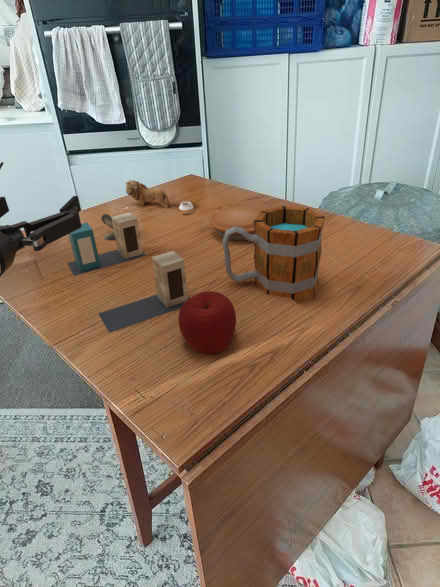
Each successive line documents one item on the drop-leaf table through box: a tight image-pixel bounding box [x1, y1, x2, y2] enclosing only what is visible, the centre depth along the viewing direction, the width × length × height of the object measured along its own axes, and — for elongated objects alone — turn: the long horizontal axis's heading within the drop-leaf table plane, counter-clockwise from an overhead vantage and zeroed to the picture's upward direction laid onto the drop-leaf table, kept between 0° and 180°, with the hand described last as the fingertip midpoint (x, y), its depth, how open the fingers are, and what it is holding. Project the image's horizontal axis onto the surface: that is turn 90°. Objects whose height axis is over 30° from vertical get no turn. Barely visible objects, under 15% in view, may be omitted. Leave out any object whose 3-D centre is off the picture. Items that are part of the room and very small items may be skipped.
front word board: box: [97, 294, 190, 334], centre depth 82 cm, size 7×17×2 cm, turn 119°
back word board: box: [66, 249, 147, 277], centre depth 100 cm, size 7×17×2 cm, turn 119°
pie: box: [209, 206, 262, 242], centre depth 111 cm, size 16×16×5 cm
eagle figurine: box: [101, 213, 116, 241], centre depth 110 cm, size 8×7×9 cm
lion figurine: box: [125, 179, 173, 209], centre depth 125 cm, size 15×5×9 cm, turn 80°
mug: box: [221, 205, 326, 304], centre depth 85 cm, size 20×14×15 cm
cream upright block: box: [151, 250, 189, 308], centre depth 82 cm, size 5×4×9 cm
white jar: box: [178, 200, 196, 216], centre depth 124 cm, size 5×3×5 cm
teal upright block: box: [68, 222, 100, 271], centre depth 95 cm, size 5×4×9 cm
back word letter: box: [111, 211, 143, 259], centre depth 99 cm, size 5×4×9 cm
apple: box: [177, 291, 237, 355], centre depth 71 cm, size 10×10×10 cm
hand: (41, 203), depth 77 cm, fingers open, 13 cm apart
